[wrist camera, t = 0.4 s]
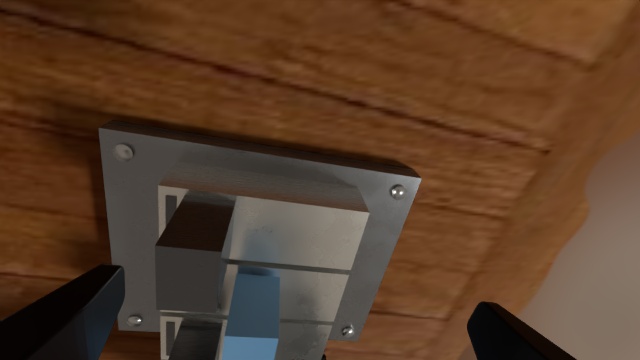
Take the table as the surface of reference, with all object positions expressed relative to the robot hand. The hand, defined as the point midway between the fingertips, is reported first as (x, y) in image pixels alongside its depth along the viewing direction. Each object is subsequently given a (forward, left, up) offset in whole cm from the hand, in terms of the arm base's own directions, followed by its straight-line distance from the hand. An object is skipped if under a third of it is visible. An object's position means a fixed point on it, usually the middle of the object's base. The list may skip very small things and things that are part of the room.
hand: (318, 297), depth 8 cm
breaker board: (-9, +1, -13) cm, 16 cm away
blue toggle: (-9, +1, -8) cm, 12 cm away
